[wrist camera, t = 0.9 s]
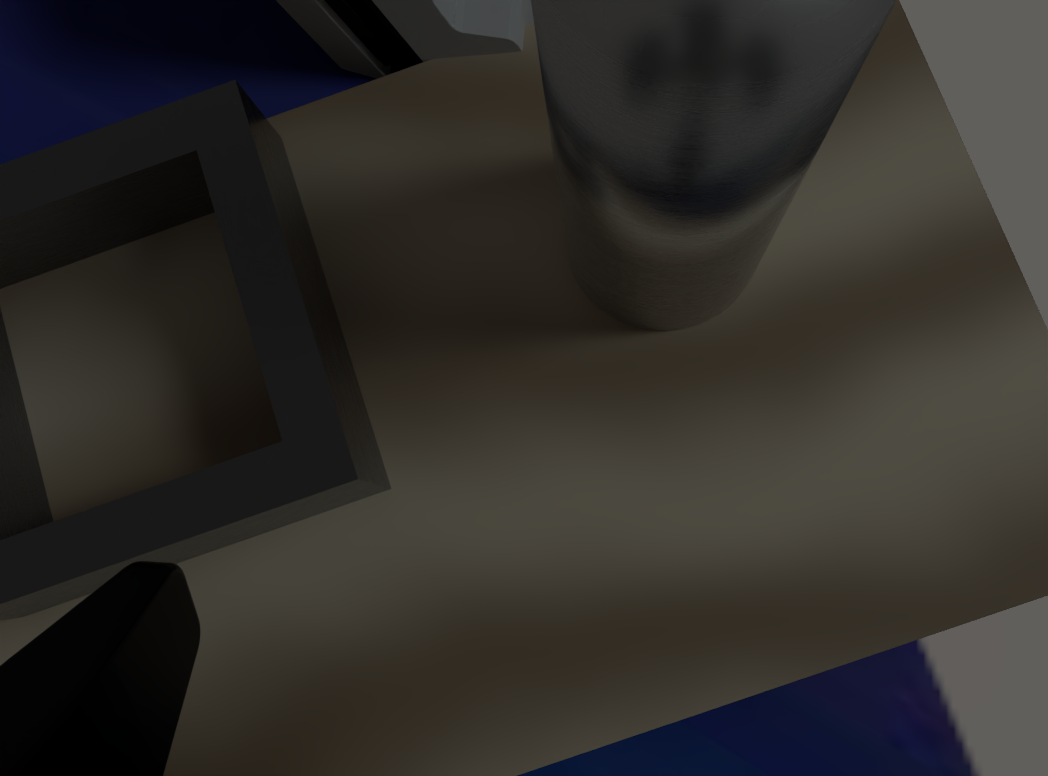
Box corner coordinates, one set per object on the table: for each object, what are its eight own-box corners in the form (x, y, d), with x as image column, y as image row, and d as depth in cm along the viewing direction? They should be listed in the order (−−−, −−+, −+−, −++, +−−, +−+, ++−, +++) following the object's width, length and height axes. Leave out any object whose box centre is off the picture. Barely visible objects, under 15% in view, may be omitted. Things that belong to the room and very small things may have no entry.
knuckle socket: (391, 488, 22) (358, 479, 19) (23, 617, 22) (-66, 627, 19) (281, 137, 24) (235, 80, 21) (-62, 261, 24) (-156, 220, 21)
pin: (791, 292, 22) (997, -2, 10) (602, 358, 22) (596, 141, 10) (720, 117, 23) (837, -341, 11) (539, 182, 23) (466, -205, 11)
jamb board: (1126, 559, 22) (1151, 560, 21) (8, 939, 22) (-19, 957, 21) (846, -69, 24) (856, -94, 24) (-137, 285, 25) (-167, 275, 24)
